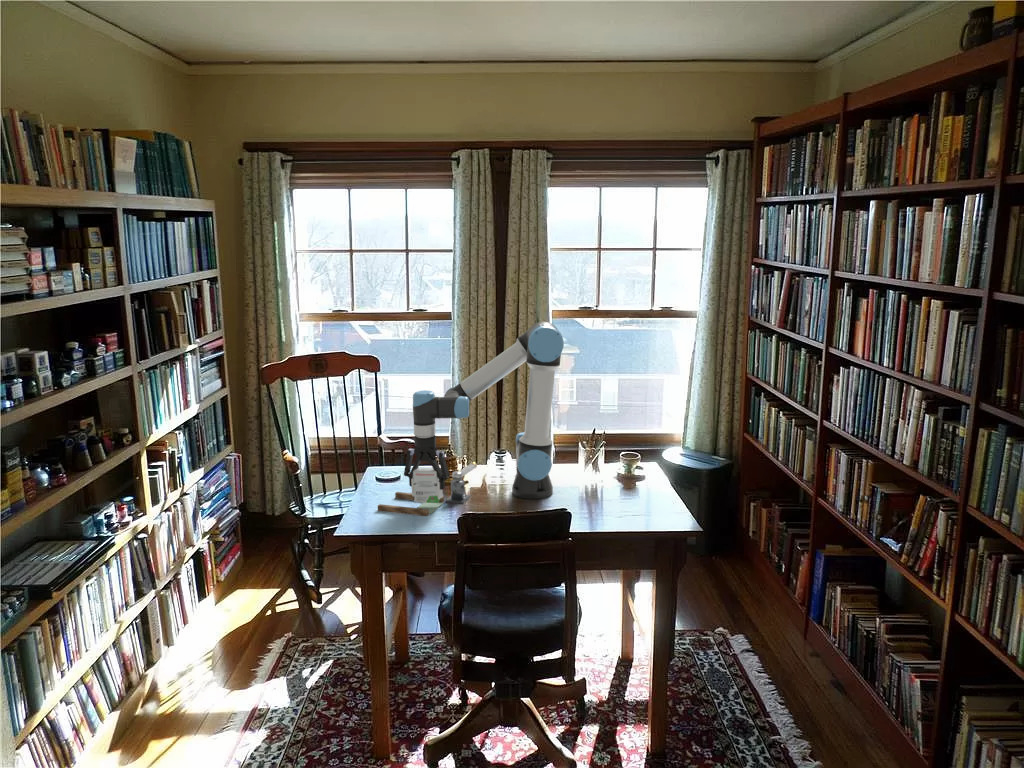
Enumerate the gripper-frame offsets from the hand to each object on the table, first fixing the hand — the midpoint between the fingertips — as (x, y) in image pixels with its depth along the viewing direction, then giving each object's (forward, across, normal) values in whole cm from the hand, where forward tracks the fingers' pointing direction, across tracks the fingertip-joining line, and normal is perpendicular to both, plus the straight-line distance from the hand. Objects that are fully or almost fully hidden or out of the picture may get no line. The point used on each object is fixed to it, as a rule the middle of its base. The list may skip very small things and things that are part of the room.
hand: (427, 496), depth 272 cm
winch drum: (+4, -7, -11) cm, 14 cm away
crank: (-3, -8, -17) cm, 19 cm away
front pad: (+4, 0, 0) cm, 4 cm away
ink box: (+2, 0, 0) cm, 2 cm away
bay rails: (+4, +6, 0) cm, 8 cm away
